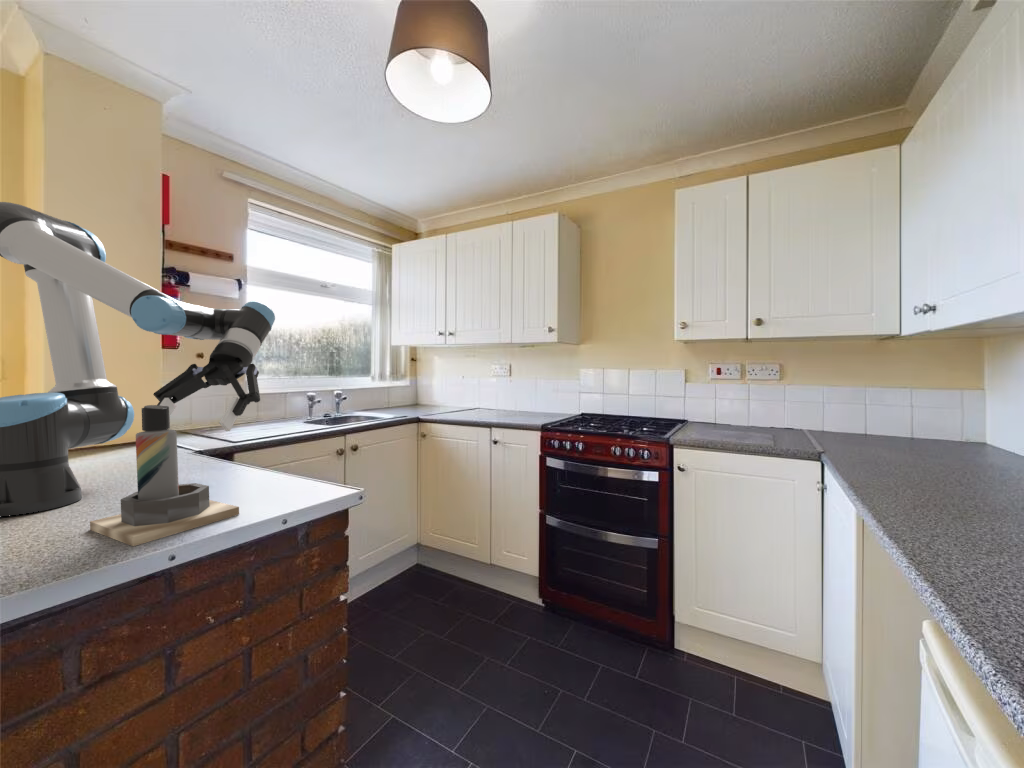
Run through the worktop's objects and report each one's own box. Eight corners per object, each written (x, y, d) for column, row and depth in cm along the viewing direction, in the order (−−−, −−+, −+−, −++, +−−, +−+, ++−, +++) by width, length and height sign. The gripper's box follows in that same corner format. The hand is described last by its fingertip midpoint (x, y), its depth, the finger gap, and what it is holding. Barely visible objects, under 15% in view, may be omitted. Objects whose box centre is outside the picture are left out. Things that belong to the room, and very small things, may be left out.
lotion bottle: (164, 507, 79) (160, 403, 79) (187, 509, 78) (183, 404, 77) (130, 517, 74) (126, 406, 73) (154, 520, 72) (149, 406, 72)
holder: (90, 529, 72) (88, 498, 72) (194, 503, 86) (193, 477, 86) (133, 546, 65) (131, 511, 65) (239, 514, 79) (238, 486, 79)
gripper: (296, 364, 97) (262, 437, 83) (188, 364, 96) (135, 439, 82) (284, 340, 92) (245, 414, 77) (169, 340, 91) (108, 416, 76)
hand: (188, 427), depth 80 cm, fingers open, 13 cm apart
